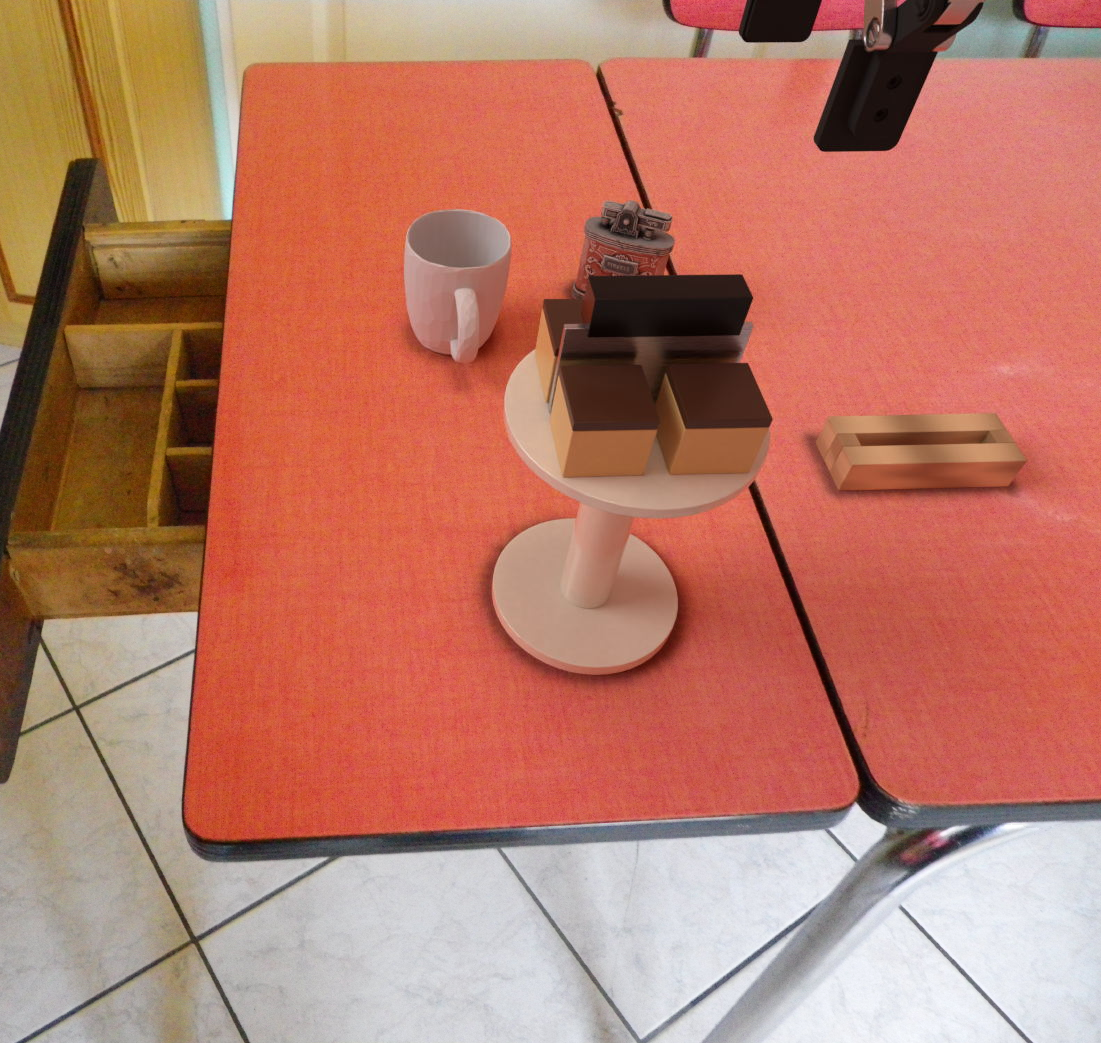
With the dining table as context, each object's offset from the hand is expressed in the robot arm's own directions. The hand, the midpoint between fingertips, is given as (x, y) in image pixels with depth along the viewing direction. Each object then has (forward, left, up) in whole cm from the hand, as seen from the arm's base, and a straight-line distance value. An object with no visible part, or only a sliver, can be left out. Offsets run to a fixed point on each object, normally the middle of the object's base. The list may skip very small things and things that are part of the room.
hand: (809, 89), depth 40 cm
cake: (+3, +2, -18) cm, 19 cm away
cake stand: (+3, +2, -36) cm, 37 cm away
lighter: (+18, -30, -37) cm, 51 cm away
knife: (+3, +2, -18) cm, 19 cm away
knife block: (-12, -26, -36) cm, 46 cm away
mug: (+26, -15, -37) cm, 47 cm away
